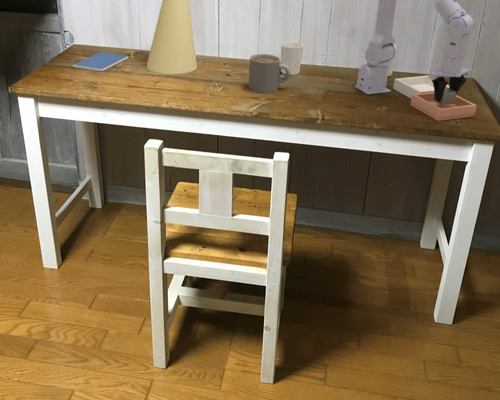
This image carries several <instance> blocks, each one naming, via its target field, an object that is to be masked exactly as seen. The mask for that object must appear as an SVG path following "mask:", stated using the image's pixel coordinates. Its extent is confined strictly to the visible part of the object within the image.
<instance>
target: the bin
mask: <svg viewBox="0 0 500 400" xmlns="http://www.w3.org/2000/svg"><path fill="white" fill-rule="evenodd" d="M433 96H434V92H430V93H421V94H413V95H412V97H411V98H410V103H409V105H410V106H411V107H413V108H414V109H416V110H418V111H420V112H421V113H424V114H425V115H427V116H429V117H431V118H432V119H434V120H435V121H437V122H441V121H448V120H456V119H457V120H458V119H462V118H463V119H464V118H470V117H475V116H476V115H475V114H476V111H477V108H478V105H477V104H475V103H474V102H471V101H469V100H467V99H465V98H463V97H461V96H458V95H457V94H456V96H455V99H454V103H453V104H449V105H440V104H438V103H436V102H434V101H433Z"/></svg>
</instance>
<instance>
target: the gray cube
mask: <svg viewBox="0 0 500 400" xmlns="http://www.w3.org/2000/svg"><path fill="white" fill-rule="evenodd" d="M455 95H457V94H456V91H454V90H452V89H450V88H448V87H445V90H444V92H443V96H442V99H441V101H437V100H435V93H434V96H433V101H434V102H436V103H438V104H440V105H449V104H453V103H454V99H455Z"/></svg>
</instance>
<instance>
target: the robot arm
mask: <svg viewBox="0 0 500 400" xmlns="http://www.w3.org/2000/svg"><path fill="white" fill-rule="evenodd" d="M397 1H398V0H378V7H377V13H376V20H375V21H376V22H375V29H374V30H375V31H374V35H372V37H371V39H370V40H369V41H368V46H367V48H366V50H365V53H364V59H365V61H366V64H362V65H361V66H360V67H359V69H358V73H357V74H358V75H357V81H356V85H355V89H358V90H359V91H361V92H363V93H364V94H366V95H374V94H383V93H390V92H392V90H390V89H389V88H387V83H388V77H389V76H388V71H389V65H390V61H391V59H393V58H394V56H395V57H396V55H395V53H397V48H396V49H395V46H394V44H395V41H396V40H395V38H394V36H393V28H394V22H395V21H394V20H395V14H396V7H397ZM433 6H434V8H435V10H436V11H437V13H438V14H439V15H440V17H441V19H442V20H443V21H444V23H445V24H446V32H447V34H448V37H447V41H446V46H445V50H444V54H443V59H442V64H441V68H439V69H436V70H433V71H429V72H428V75H427V76H428V78H429V79H431V80H432V82H433V86H434V93H435V100H437V101H441V99H442V96H443V92H444V90H445V87H446V85H448V84H449V88H450V89H452V90H454V91H456V95H457V94H458V92H459V90H460V89H461V88H462V86H463V85H464V84H465V83H467V82H466V81H467V78H466V77H470V76H471V73H472V69H470V68H468V67H465V68H464V67H463V63H464V58H465V55H466V52H467V51H466V49H467V46H468V41H469V38H470V37H469V36H470V33H472V32H473V30H474V28H475V25H476V23H475V19H474V17H473V15H472V14H469V13H467V11H466V10H465V9H463V8H462V7H461V5H460V4H459V2H458V1H457V0H434V5H433ZM462 67H463V68H462ZM446 78H449V81H447V80H446ZM456 95H455V96H456Z"/></svg>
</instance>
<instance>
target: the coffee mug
mask: <svg viewBox="0 0 500 400" xmlns="http://www.w3.org/2000/svg"><path fill="white" fill-rule="evenodd" d="M281 69H285V71H286V74H285V76H284V77H282V76H281V75H280V74H281V73H280V72H281ZM248 72H249V73H248V89H249V90H250V91H252V92H255V93H262V94H264V93H267V94H268V93H273V92H277V91H278V90H279V85H280V84H282V83H285V82H288V80H289V78H290V76H291V75H290V69H289V67H288V66H287V65H284V64H281V57H278V56H277V55H274V54H269V53H268V54H265V53H257V54H253V55H251V56H250V57H249V67H248Z"/></svg>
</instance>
